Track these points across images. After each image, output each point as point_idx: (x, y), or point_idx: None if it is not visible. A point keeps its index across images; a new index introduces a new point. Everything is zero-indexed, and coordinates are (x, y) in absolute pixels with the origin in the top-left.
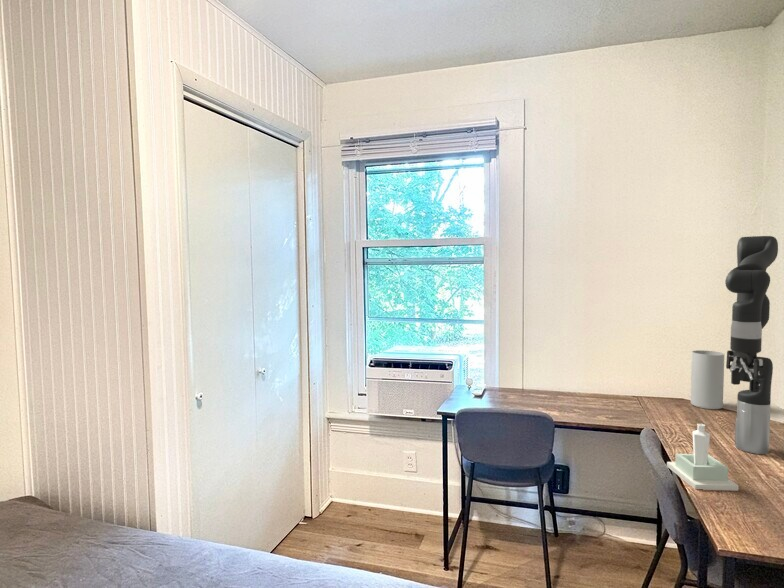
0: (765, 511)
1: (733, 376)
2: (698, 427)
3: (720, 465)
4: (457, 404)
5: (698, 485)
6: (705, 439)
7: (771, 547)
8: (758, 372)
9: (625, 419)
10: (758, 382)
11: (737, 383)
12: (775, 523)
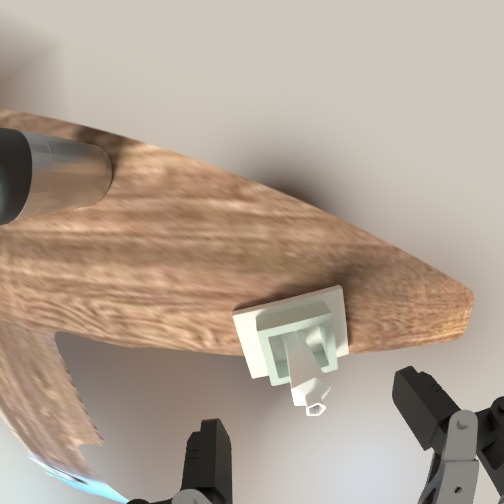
0: (403, 267)
1: (231, 483)
2: (317, 409)
3: (320, 323)
4: (122, 500)
5: (347, 348)
6: (327, 382)
7: (466, 293)
8: (474, 456)
9: (37, 363)
10: (454, 406)
11: (222, 429)
12: (430, 268)
